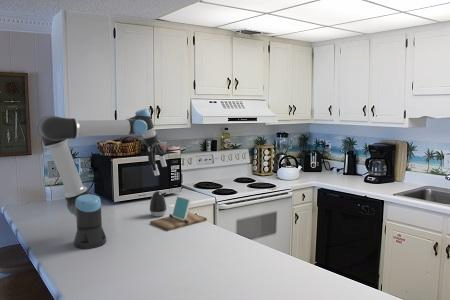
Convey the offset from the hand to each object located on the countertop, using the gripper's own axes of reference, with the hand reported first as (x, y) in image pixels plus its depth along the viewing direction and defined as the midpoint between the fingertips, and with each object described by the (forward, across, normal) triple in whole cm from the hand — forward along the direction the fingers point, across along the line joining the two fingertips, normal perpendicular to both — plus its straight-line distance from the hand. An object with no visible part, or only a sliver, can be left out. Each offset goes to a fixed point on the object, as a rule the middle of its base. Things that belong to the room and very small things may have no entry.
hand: (161, 170), depth 229 cm
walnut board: (+30, -8, -4) cm, 31 cm away
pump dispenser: (+29, +4, +12) cm, 32 cm away
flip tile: (+24, -4, -7) cm, 25 cm away
